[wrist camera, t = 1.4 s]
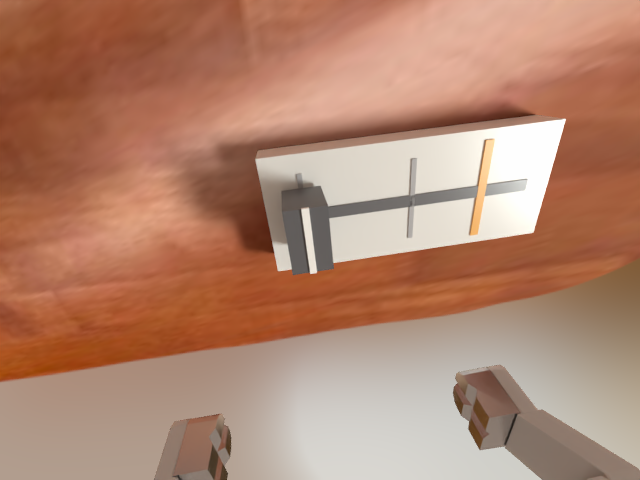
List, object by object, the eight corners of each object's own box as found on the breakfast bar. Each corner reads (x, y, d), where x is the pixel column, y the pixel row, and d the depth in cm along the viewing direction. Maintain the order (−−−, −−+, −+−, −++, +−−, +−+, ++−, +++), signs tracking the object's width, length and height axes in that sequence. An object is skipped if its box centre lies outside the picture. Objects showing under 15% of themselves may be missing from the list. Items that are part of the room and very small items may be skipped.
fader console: (278, 253, 29) (278, 272, 26) (257, 150, 24) (255, 159, 22) (511, 219, 30) (534, 233, 28) (536, 114, 26) (567, 119, 23)
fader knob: (291, 247, 25) (293, 276, 21) (281, 190, 23) (281, 211, 19) (326, 242, 25) (334, 270, 22) (320, 185, 23) (328, 205, 19)
